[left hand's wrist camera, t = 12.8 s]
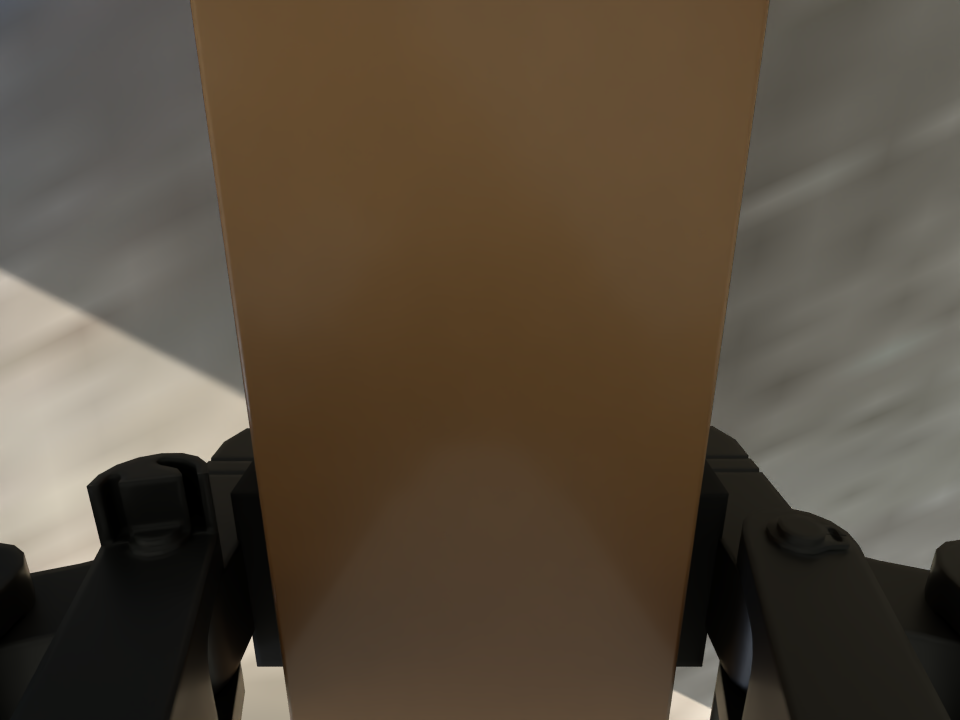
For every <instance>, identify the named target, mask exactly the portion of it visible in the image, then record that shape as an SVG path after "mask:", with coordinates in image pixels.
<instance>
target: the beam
mask: <svg viewBox="0 0 960 720" xmlns="http://www.w3.org/2000/svg"><path fill="white" fill-rule="evenodd" d="M769 2H770V0H190V4H191V11H192V18H193V25H194V32H195V40H196V47H197V54H198V61H199V68H200V75H201V83H202V90H203V97H204V104H205V111H206V118H207V125H208V133H209V140H210V147H211V154H212V161H213V168H214V176H215V183H216V190H217V197H218V204H219V211H220V218H221V226H222V233H223V240H224V247H225V254H226V261H227V269H228V276H229V283H230V290H231V297H232V304H233V312H234V319H235V326H236V333H237V340H238V347H239V354H240V362H241V369H242V376H243V383H244V390H245V397H246V405H247V412H248V419H249V426H250V433H251V440H252V447H253V455H254V462H255V469H256V476H257V483H258V490H259V498H260V505H261V512H262V519H263V526H264V533H265V540H266V548H267V555H268V562H269V569H270V576H271V583H272V591H273V598H274V605H275V612H276V619H277V626H278V634H279V641H280V648H281V655H282V662H283V669H284V676H285V684H286V691H287V698H288V705H289V712H290V719H291V720H669V714H670V707H671V699H672V692H673V685H674V678H675V671H676V664H677V657H678V650H679V642H680V635H681V628H682V621H683V614H684V607H685V600H686V593H687V585H688V578H689V571H690V564H691V557H692V550H693V543H694V536H695V528H696V521H697V514H698V507H699V500H700V493H701V486H702V479H703V472H704V464H705V457H706V450H707V443H708V436H709V429H710V422H711V415H712V407H713V400H714V393H715V386H716V379H717V372H718V365H719V358H720V350H721V343H722V336H723V329H724V322H725V315H726V308H727V301H728V293H729V286H730V279H731V272H732V265H733V258H734V251H735V244H736V237H737V229H738V222H739V215H740V208H741V201H742V194H743V187H744V180H745V172H746V165H747V158H748V151H749V144H750V137H751V130H752V123H753V115H754V108H755V101H756V94H757V87H758V80H759V73H760V66H761V59H762V51H763V44H764V37H765V30H766V23H767V16H768V9H769Z"/></svg>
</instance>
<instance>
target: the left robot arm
mask: <svg viewBox="0 0 960 720" xmlns="http://www.w3.org/2000/svg"><path fill="white" fill-rule="evenodd" d="M87 490H88V494H89V498H90V502H91V506H92V510H93V514H94V518H95V522H96V526H97V531H98V535H99V539H100V543H101V548H100V549H99V551H98V553H97V555H96V557H95V559H94V560H93V561H89V562H85V563H81V564H76V565H71V566H65V567H60V568H55V569H50V570H45V571H40V572H35V573H30V572H29V569H28V565H27V562H26V558H25V555H24V552H22V551H21V550H20V549H18V548H17V547H16V546H15V545H10V544H3V543H0V720H241V716H242V709H243V702H244V694H245V689H244V681H243V674H242V668H241V659H242V657H243V655H244V653H245V650H246V648H247V646H248V644H249V641H250V639H251V637H252V636H253V642H254V649H255V655H256V662H257V667H283V662H282V655H281V648H280V641H279V634H278V626H277V619H276V612H275V605H274V598H273V591H272V583H271V576H270V569H269V562H268V555H267V548H266V540H265V533H264V526H263V519H262V512H261V505H260V498H259V490H258V483H257V476H256V469H255V462H254V455H253V447H252V440H251V433H250V428H247V429H245V430H243V431H242V432H240V433H238V434H237V435H235V436H233V437H232V438H230V439H228V440H227V441H225V442H224V443H223V444H222V445H221V446H220V448H219V449H218V450H217V451H216V453H215V454H214V455H213V456H212V458H211V461H208V462H207V463H206V462H205V461H203V460H202V459H201V458H199V457H198V456H193V455H189V454H184V453H161V454H155V455H150V456H144V457H139V458H136V459H133V460H130V461H127V462H124V463H121V464H118V465H116V466H114V467H112V468H110V469H108V470H107V471H105V472H103V473H101V474H99V475H98V476H97V477H96V478H95V479H94V480H93V481H92V482H91V483H90V484H89V485H88V486H87ZM707 633H708V635H709V638H710V640H711V642H712V644H713V646H714V649H715V651H716V653H717V655H718V658H719V660H720V662H719V668H718V674H717V680H716V686H715V692H714V698H713V704H712V710H711V716H710V720H960V540H956V541H949V542H945V543H944V544H943V545H941V546H940V547H939V548H937V549H936V552H935V555H934V559H933V562H932V565H931V569H930V570H925V569H920V568H915V567H910V566H904V565H899V564H894V563H889V562H884V561H879V560H875V559H871V558H867V557H865V556H864V554H863V552H862V550H861V548H860V546H859V545H858V544H857V543H856V541H855V540H854V539H853V538H852V537H851V535H850V534H849V533H848V532H846V531H845V530H843V529H842V528H840V527H839V526H837V525H836V524H834V523H833V522H831V521H829V520H826V519H824V518H822V517H819V516H817V515H814V514H812V513H809V512H804V511H799V510H794V509H792V508H791V507H790V506H789V505H788V503H787V502H786V501H785V500H784V499H783V497H782V496H781V495H780V494H779V492H778V491H777V490H776V489H775V488H774V486H773V485H772V484H771V483H770V481H769V480H768V479H767V478H766V477H765V475H764V474H763V473H762V472H759V468H758V467H757V466H756V464H755V463H754V462H753V461H752V459H749V458H748V455H747V453H746V452H745V451H744V450H743V448H742V447H741V446H740V445H739V444H738V442H737V441H736V440H735V439H733V438H732V437H730V436H728V435H727V434H725V433H723V432H722V431H720V430H718V429H716V428H715V427H713V426H710V429H709V436H708V443H707V450H706V457H705V464H704V472H703V479H702V486H701V493H700V500H699V507H698V514H697V521H696V528H695V536H694V543H693V550H692V557H691V564H690V571H689V578H688V585H687V593H686V600H685V607H684V614H683V621H682V628H681V635H680V642H679V650H678V657H677V664H676V667H702V663H703V657H704V650H705V644H706V638H707Z"/></svg>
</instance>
